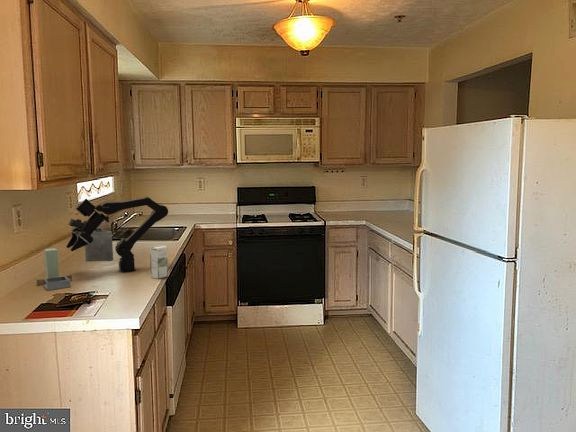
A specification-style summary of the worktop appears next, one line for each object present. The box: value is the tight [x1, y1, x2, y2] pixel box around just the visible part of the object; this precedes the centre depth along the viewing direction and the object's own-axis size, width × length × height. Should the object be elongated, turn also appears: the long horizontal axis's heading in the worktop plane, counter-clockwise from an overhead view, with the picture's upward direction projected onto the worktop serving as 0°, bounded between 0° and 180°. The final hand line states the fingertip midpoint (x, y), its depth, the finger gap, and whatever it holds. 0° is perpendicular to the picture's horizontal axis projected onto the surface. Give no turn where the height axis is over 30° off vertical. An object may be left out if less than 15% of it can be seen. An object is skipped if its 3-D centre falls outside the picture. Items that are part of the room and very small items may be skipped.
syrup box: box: [149, 244, 169, 280], centre depth 221 cm, size 6×6×14 cm
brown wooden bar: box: [36, 274, 73, 287], centre depth 213 cm, size 14×2×2 cm, turn 125°
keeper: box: [43, 275, 71, 291], centre depth 207 cm, size 9×9×3 cm
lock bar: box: [44, 247, 60, 278], centre depth 217 cm, size 4×4×14 cm
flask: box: [84, 226, 114, 262], centre depth 257 cm, size 4×14×18 cm, turn 93°
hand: (69, 249), depth 220 cm, fingers open, 9 cm apart
